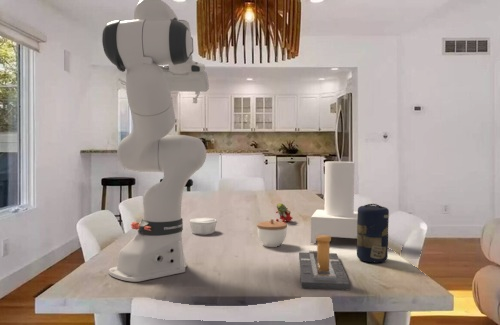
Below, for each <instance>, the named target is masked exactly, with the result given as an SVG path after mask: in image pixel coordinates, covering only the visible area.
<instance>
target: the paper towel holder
mask: <svg viewBox="0 0 500 325" xmlns="http://www.w3.org/2000/svg"><path fill="white" fill-rule="evenodd" d="M323 208H324V209H316V210H315V211H314V213H313V214H312V215H311V216H310V217H311V218H310V244H311V243H316V244H317V240H316V236H317V235H328V236H331V238H345V239H357V216H358V210H357V211H355V210H354V209H355V162H354V161H341V160H340V161H338V160H337V161H336V160H334V161H332V160H331V161H329V160H328V161H325V162H324V207H323Z"/></svg>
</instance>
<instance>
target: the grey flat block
mask: <svg viewBox="0 0 500 325" xmlns="http://www.w3.org/2000/svg"><path fill="white" fill-rule="evenodd" d="M298 260H299V274H301V275H300V283H301V285H300V287H301V286H302V287H301V289H315V290H316V289H318V290H319V289H320V290H341V289H350V288H351V284H350V281H349V278H348V277H347V274H346V272H345V270H344V267H343V265H342V263H341V261H340V258H339V256H338V254H337V252H336V253H335V252H333V253H331V252H329V271H328V274H319V272H318V270H317V250H309V252H301V251H300V252H298ZM350 290H351V289H350Z"/></svg>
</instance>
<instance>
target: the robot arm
mask: <svg viewBox="0 0 500 325" xmlns="http://www.w3.org/2000/svg"><path fill="white" fill-rule="evenodd" d="M133 11H134V12H133V19H131V20H120V19H119V20H113V21H110V22H108V23H107V24H106V25H105V26H104V28H103V30H102V36H101V37H102V39H101V42H102V43H101V44H102V48H103V51H104V54H105V56H106V58H107V59H108V60H109V62H110V63H112V65H114V66H116V68H117V70H118V71H119V72H122V73H123V72H125V71H126V74H125V88H126V97H127V103H128V107H129V110H130V113H131V119H132V124H133V126H132V127H133V128H132V131H131V132H130V133H129V134H128V135H127V136H125V137H123V138H122V139H121V141H120V142H119V144H118V146H117V150H116V158H117V161H118V163H119V164H120V166H121V167H122V168H123V169H124V170H127V171H133V172H137V173H138V172H139V173H163V177H162V180H161V181H160V182H158V183H155V184H153V185H152V186H150V187H148V188H147V189H146V190H145V191H144V193H143V197H142V211H143V212H142V217H143V218H142V219H141V222H135V221H133V222H131V224H130V228H131V229H132V230H137V233H136V234H135V236H134V237H133V238H132V239H131V240H130V241H129V242H128V243H127V244H125V245H124V246H123V247H122V248H121V249H120V250H119V253H118V255H117V262H116V266H113V267H111V268H109V269H108V274H109V276H111V277H112V278H116V279H119V280H122V281H124V282H125V281H127V282H131V283H132V282H133V283H137V282H143V281H147V280H148V281H149V280H152V279H158V278H162V277H167V276H172V275H177V274H182V273H185V272H186V267H188V264H187V261H186V260H187V259H186V257H185V253H184V246H183V244H184V243H183V237H182V236H183V234H182V232H183V230H184V227H183V226H184V223H183V221H184V220H183V218H182V203H183V202H182V201H183V193H184V189H185V187H186V185H187V183H188V181H189V180H190V178H191V177H192V176H193V175H194V174H195V173H196V172H197V171H199V170H200V169H202V167H203V166H204V164H205V162H206V159H207V149H206V146H205V144H204V142H203V141H202V140H201V139H200V138H199V137H196V136H191V135H185V134H169V133H170V132H171V131H172V130H173V129H174V126H175V124H176V114H175V110H174V109H175V107H174V103H173V97H172V93H171V92H175V93H176V92H179V93H180V92H181V93H182V92H189V93H191V92H192V93H195V95H196V96H195V97H193V98H192V104H197V103H198V98H199V96H200V94H201V92H202V93H204V92H208V91H209V89H210V83H209V77H208V74H207V72H206V71H205V69H206V65H205V64H204V63H201V62H199V61H195V60H193V55H192V54H193V53H194V37H192V33H191V27H190V23H189V21H187V20H185V19H179V18H178V16H177V15H176V13H175V11H174V9H173V8H171V7H170V5H169V4H167V3H166V2H165V1H163V0H139V2H138V3H137V4H136V6H135V8H134V10H133Z"/></svg>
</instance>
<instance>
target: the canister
mask: <svg viewBox="0 0 500 325" xmlns="http://www.w3.org/2000/svg"><path fill="white" fill-rule="evenodd" d="M357 211H358V216H357V238H356V256H357V258H358V259H359V260H361V261H364V262H368V263H383V262H386V261H387V260H388V253H389V252H388V249H389V222H390V221H389V217H390V211H389V208H388V207H385V206H382V205H379V204H377V203H368V204H364V205H361V206H359V207H358V208H357Z"/></svg>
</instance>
